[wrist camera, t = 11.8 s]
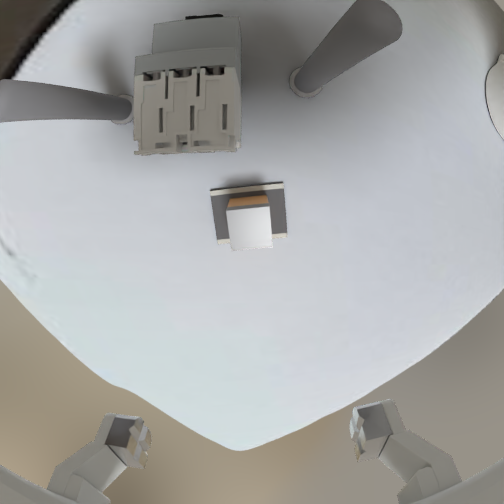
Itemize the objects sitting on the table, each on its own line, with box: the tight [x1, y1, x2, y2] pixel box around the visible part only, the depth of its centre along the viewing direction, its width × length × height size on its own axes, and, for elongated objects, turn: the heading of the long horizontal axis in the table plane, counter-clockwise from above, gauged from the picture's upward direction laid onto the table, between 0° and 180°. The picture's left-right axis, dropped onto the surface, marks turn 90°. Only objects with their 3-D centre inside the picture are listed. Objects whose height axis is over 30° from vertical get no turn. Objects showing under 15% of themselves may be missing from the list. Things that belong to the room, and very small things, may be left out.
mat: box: [210, 183, 287, 244], centre depth 37 cm, size 9×7×1 cm
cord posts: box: [0, 0, 402, 125], centre depth 21 cm, size 27×4×22 cm, turn 96°
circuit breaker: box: [134, 14, 242, 156], centre depth 24 cm, size 8×14×15 cm, turn 179°
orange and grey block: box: [226, 195, 273, 251], centre depth 34 cm, size 4×4×6 cm
